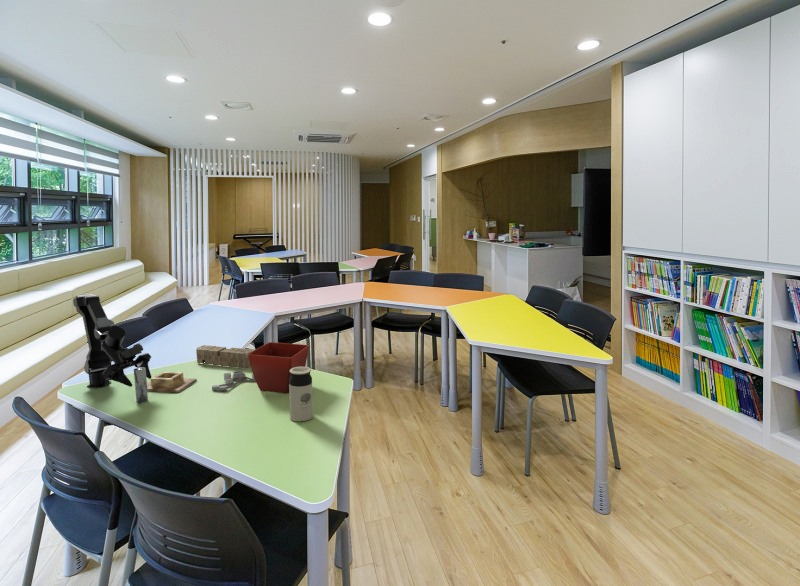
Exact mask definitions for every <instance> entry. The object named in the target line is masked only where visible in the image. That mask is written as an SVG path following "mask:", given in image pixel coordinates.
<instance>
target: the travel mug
mask: <svg viewBox="0 0 800 586" xmlns="http://www.w3.org/2000/svg"><path fill="white" fill-rule="evenodd" d="M311 372H312V369H311V367H308V366H305V367H295V368H292V369H290V373H291V376H290V378H289V391H290V393H289V416H290V418H289V419H290V420H292V421H293V422H297V421H299V423H301V422H300V421H303V422H307V421H309V420H311V419H313V417H314V413H313V410H314V409H313V377H312V375H311Z"/></svg>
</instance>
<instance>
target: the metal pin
mask: <svg viewBox="0 0 800 586" xmlns="http://www.w3.org/2000/svg"><path fill="white" fill-rule="evenodd" d="M133 376H134V377H133V378H134V390H135V391H134V392H135V400H136V403H137V402H138V403H137V404H143V403H142V402H144V403H146V401H147V402H148V401H149V394H148V393H149V392H148V391H147V383H148V381H147V377H146V368H145V367H139V368H137V367H135V368H133Z"/></svg>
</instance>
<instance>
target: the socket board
mask: <svg viewBox="0 0 800 586" xmlns="http://www.w3.org/2000/svg"><path fill="white" fill-rule="evenodd" d="M197 381H198V379H197V378H192V377H191V378H187V377H186V378H185V377H184V372H180V371H179V372H178V371H162V372H161V373H160V372H159V373H158V374H157V375H154V376H153V377H151V379H150V381H147V392H156V391H157V393H158V392H159V393H160V392H161V393H181V392H183V391H184V390H185V389H186V388H189V387H190V386H191V385H193V384H194V383H196V382H197Z"/></svg>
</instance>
